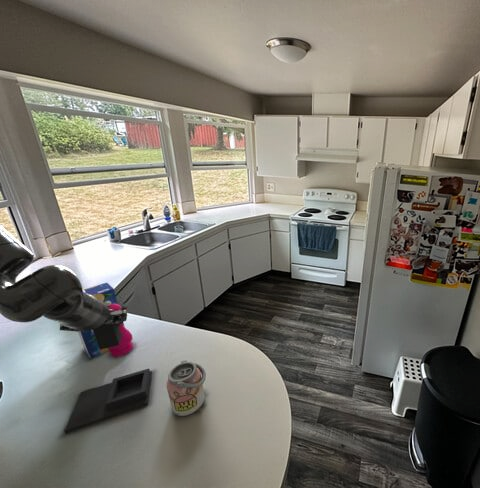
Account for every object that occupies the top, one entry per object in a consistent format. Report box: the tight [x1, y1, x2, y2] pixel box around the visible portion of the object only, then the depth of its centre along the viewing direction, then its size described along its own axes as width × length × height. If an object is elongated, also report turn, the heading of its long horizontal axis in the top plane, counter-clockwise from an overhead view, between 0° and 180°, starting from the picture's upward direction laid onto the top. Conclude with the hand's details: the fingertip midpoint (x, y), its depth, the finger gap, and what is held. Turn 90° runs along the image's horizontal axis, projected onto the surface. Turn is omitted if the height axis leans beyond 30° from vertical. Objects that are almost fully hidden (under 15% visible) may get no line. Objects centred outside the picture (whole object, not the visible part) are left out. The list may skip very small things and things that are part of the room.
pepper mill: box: [104, 301, 134, 358], centre depth 84 cm, size 7×7×20 cm
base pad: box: [63, 368, 153, 434], centre depth 70 cm, size 17×12×4 cm
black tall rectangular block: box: [93, 324, 122, 350], centre depth 72 cm, size 5×5×9 cm
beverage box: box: [77, 282, 126, 360], centre depth 86 cm, size 7×11×22 cm, turn 144°
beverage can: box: [166, 359, 207, 417], centre depth 68 cm, size 9×8×12 cm
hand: (108, 324), depth 73 cm, fingers closed on black tall rectangular block, 4 cm apart
